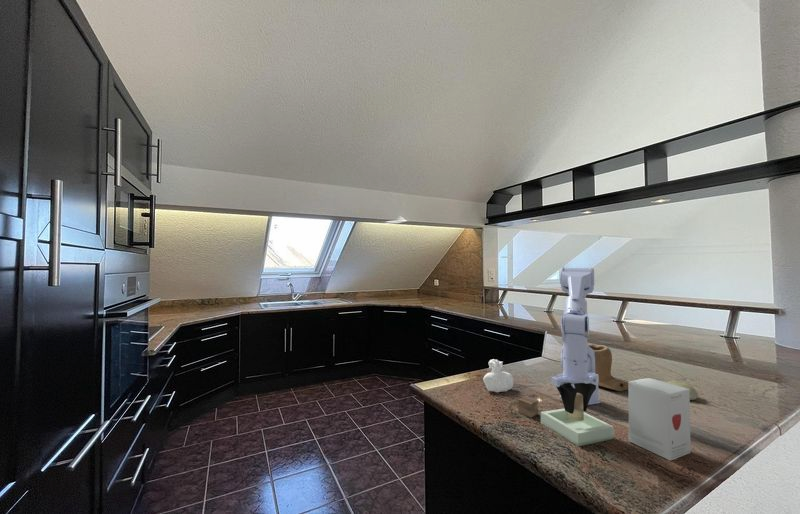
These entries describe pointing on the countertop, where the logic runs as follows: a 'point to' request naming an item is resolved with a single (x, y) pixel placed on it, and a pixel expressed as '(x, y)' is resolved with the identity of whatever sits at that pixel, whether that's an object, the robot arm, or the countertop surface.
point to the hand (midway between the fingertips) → (575, 410)
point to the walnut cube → (528, 406)
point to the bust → (497, 378)
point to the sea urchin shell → (692, 391)
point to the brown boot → (606, 369)
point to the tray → (577, 427)
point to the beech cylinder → (577, 409)
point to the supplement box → (659, 417)
